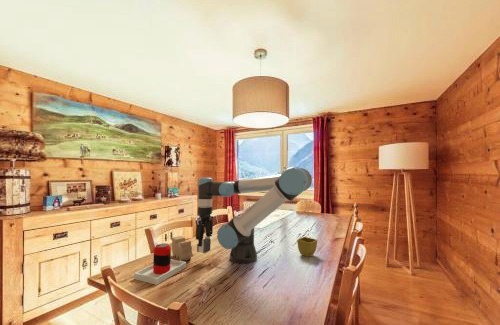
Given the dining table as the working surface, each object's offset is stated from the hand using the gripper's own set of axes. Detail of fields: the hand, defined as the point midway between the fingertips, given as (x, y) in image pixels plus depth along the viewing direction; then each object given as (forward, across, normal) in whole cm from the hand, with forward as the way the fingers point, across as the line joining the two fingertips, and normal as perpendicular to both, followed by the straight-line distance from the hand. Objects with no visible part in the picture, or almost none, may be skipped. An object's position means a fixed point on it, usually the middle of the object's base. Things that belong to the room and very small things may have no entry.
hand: (204, 250), depth 120 cm
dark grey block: (0, 0, 0) cm, 0 cm away
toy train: (+6, 0, -15) cm, 16 cm away
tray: (+6, +19, -11) cm, 23 cm away
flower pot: (+6, -32, +49) cm, 59 cm away
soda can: (+5, +19, -11) cm, 22 cm away
